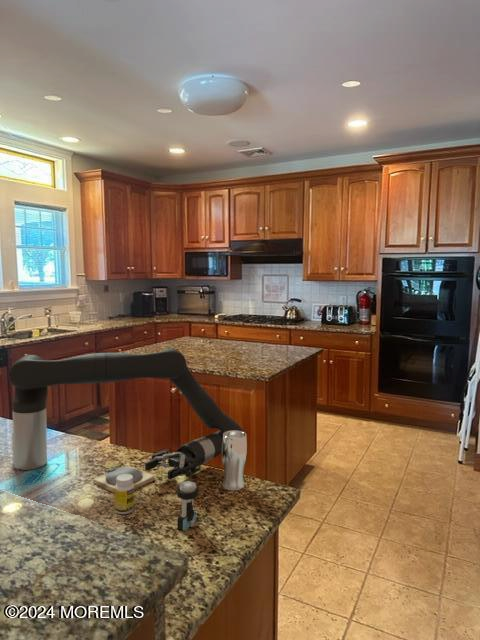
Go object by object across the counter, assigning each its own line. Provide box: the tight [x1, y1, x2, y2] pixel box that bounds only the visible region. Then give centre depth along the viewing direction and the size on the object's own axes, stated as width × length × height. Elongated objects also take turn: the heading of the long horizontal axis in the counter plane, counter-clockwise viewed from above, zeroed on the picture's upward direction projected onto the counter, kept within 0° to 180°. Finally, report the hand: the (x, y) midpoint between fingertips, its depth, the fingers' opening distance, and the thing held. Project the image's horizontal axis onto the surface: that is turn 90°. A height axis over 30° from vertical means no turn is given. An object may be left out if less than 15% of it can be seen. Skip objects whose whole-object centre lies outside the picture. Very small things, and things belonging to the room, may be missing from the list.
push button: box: [176, 480, 200, 531], centre depth 104 cm, size 7×5×10 cm
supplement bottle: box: [114, 474, 135, 515], centre depth 109 cm, size 5×5×8 cm
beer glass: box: [221, 430, 248, 492], centre depth 123 cm, size 7×7×15 cm
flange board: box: [92, 464, 156, 494], centre depth 125 cm, size 12×12×2 cm
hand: (157, 471), depth 118 cm, fingers open, 8 cm apart
